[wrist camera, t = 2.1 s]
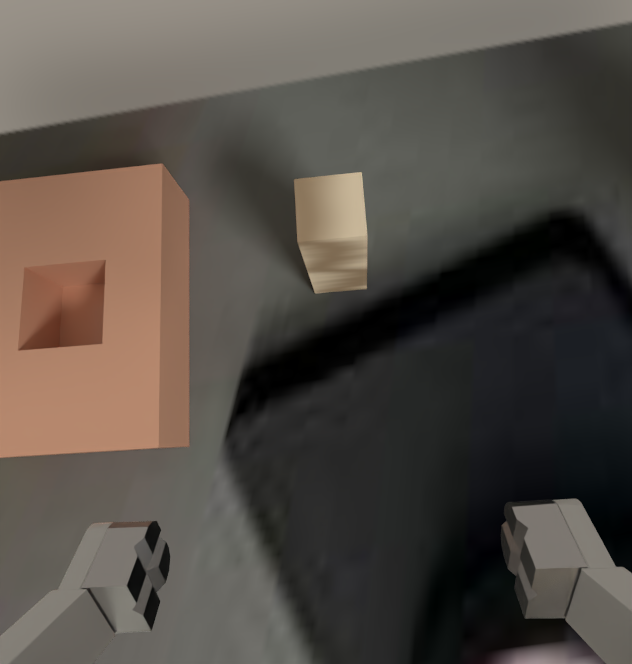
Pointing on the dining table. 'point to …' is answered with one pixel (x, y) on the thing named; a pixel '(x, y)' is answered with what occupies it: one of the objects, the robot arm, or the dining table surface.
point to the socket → (94, 312)
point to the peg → (332, 231)
